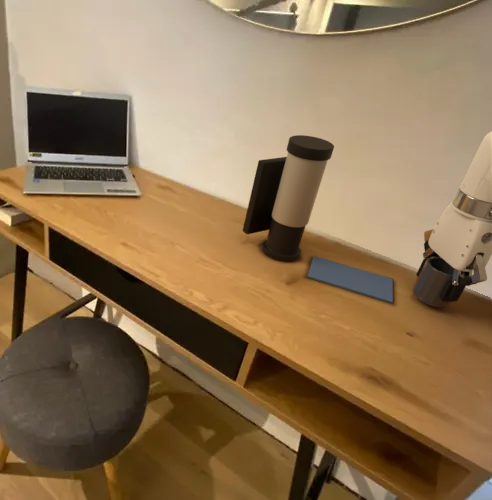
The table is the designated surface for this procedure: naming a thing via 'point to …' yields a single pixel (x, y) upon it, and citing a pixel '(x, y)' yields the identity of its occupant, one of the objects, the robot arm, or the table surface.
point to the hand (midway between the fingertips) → (435, 287)
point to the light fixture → (287, 195)
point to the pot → (433, 281)
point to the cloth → (352, 279)
